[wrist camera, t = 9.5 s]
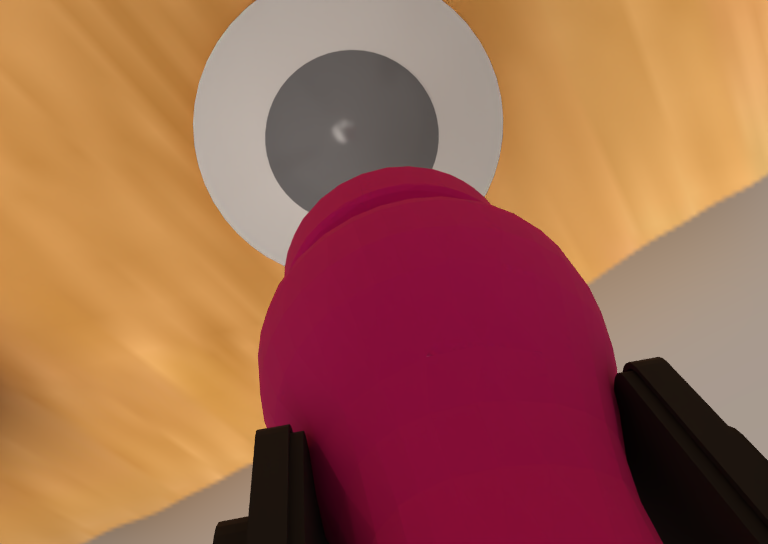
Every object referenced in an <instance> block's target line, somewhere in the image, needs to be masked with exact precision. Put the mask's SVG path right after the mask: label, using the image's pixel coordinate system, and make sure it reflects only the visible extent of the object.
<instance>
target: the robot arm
mask: <svg viewBox="0 0 768 544" xmlns="http://www.w3.org/2000/svg"><path fill="white" fill-rule="evenodd" d="M614 392H615V396H616V400H617V404H618V408H619V412H620V420H621V426H622V432H623V439H624V445H625V451H626V458H627V462H628V465H629V468H630V471H631V474H632V477H633V480H634V483H635V486H636V489H637V492H638V495H639V498H640V500H641V503H642V505H643V507H644V509H645V511H646V512H647V514H648V516H649V518H650V520H651V522H652V524H653V525H654V527H655V529H656V531H657V533H658V535H659V537H660V538H661V540H662V542H663V544H768V460H767V459H766V458H765V457H764V456H763V455H762V454H761V453H760V452H759V451H758V450H757V449H756V448H755V447H754V446H753V445H752V444H751V443H750V442H749V441H748V440H747V439H746V438H745V437H744V435H742V434H741V433H740V432H739V431H738V430H736V429H735V428H733V427H730V426H728V425H727V424H726V423H725V422H724V421H723V420H722V419H721V418H720V417H719V416H718V415H717V414H716V413H715V412H714V411H713V409H712V408H711V407H710V406H709V405H708V404H707V403H706V402H705V401H704V400H703V399H702V398H701V397H700V396H699V395H698V394H697V393H696V392H695V391H694V390H693V388H691V386H690V385H689V384H688V383H687V382H686V381H685V380H684V379H683V378H682V377H681V376H680V375H679V374H678V373H677V372H676V371H675V370H674V369H673V368H672V366H670V364H669V363H668V362H667V361H665V360H664V359H663V358H660V357H656V358H651V359H645V360H639V361H634V362H628V363H626V364H625V366H624V368H623V372H621V373H617V374H616V376H615V380H614ZM213 544H329V543H328V541H327V539H326V537H325V533H324V529H323V524H322V520H321V515H320V511H319V506H318V502H317V497H316V492H315V485H314V479H313V472H312V466H311V460H310V454H309V448H308V443H307V439H306V435H305V432H304V431H299V432H293V430H292V427H291V425H290V424H287V425H282V426H276V427H271V428H265V429H260V430H257V431H256V435H255V445H254V457H253V469H252V481H251V493H250V505H249V516H248V517H243V518H238V519H232V520H227V521H222V522H219V523H218V525H217V526H216V529H215V534H214V540H213Z"/></svg>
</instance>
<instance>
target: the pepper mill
mask: <svg viewBox="0 0 768 544" xmlns="http://www.w3.org/2000/svg"><path fill="white" fill-rule="evenodd" d="M258 364H259V380H260V395H261V402H262V408H263V415H264V421H265V424H266V427H267V428H271V427H276V426H282V425H287V424H290V425H291V427H292V430H293V432H299V431H304V432H305V435H306V439H307V443H308V448H309V454H310V460H311V466H312V472H313V479H314V485H315V492H316V497H317V502H318V506H319V511H320V515H321V520H322V524H323V529H324V533H325V537H326V539H327V541H328V543H329V544H663V542H662V540H661V538H660V537H659V535H658V533H657V531H656V529H655V527H654V525H653V524H652V522H651V520H650V518H649V516H648V514H647V512H646V511H645V509H644V507H643V505H642V503H641V500H640V498H639V495H638V492H637V489H636V486H635V483H634V480H633V477H632V474H631V471H630V468H629V465H628V462H627V458H626V451H625V445H624V439H623V432H622V426H621V420H620V412H619V408H618V404H617V400H616V396H615V392H614V380H615V376H616V374H617V367H616V361H615V357H614V352H613V347H612V344H611V341H610V338H609V335H608V332H607V329H606V325H605V323H604V319H603V316H602V314H601V311H600V309H599V307H598V305H597V303H596V301H595V299H594V297H593V295H592V292H591V291H590V288H589V287H588V285H587V284H586V283H585V281H584V280H583V278H582V277H581V276H580V274H579V273H578V272H577V270H576V269H575V268H574V266H573V265H572V264H571V262H570V261H569V260H568V258H567V257H566V256H565V254H564V253H563V252H562V251H561V249H560V248H559V247H558V245H556V244H555V243H554V242H553V241H552V240H551V239H550V238H549V237H548V236H546V235H545V234H544V233H543V232H542V231H541V230H539V229H538V228H536V227H535V226H533V225H531V224H530V223H528V222H527V221H525V220H523V219H522V218H520V217H519V216H517V215H515V214H514V213H511V212H508V211H506V210H503V209H500V208H498V207H495V206H492V205H491V204H490V203H489V202H488V201H487V200H486V199H485V197H484V196H483V195H481V194H480V193H479V192H478V191H477V190H476V189H475V188H473V187H472V186H470V185H469V184H467V183H466V182H464V181H462V180H460V179H458V178H456V177H454V176H452V175H450V174H447V173H444V172H441V171H438V170H435V169H428V168H420V167H411V166H404V167H386V168H383V169H379V170H375V171H371V172H367V173H364V174H360V175H358V176H356V177H354V178H352V179H350V180H348V181H346V182H344V183H342V184H340V185H338V186H337V187H336V188H334V189H333V190H332V191H330V192H329V193H328V194H326V195H325V196H324V197H322V198H321V199H320V200H319V201H318V202H317V204H316V205H315V206H314V207H313V208H312V209H311V210H310V211H309V213H308V214H307V215H306V216H305V217H304V218H303V220H302V221H301V223H300V225H299V227H298V229H297V230H296V232H295V234H294V236H293V239H292V242H291V244H290V247H289V250H288V252H287V258H286V263H285V277H284V278H283V280H282V281H281V282H280V284H279V285H278V288H277V290H276V292H275V294H274V297H273V299H272V301H271V304H270V306H269V308H268V311H267V314H266V317H265V320H264V324H263V327H262V330H261V335H260V344H259V352H258Z"/></svg>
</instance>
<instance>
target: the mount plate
mask: <svg viewBox="0 0 768 544" xmlns="http://www.w3.org/2000/svg"><path fill="white" fill-rule="evenodd" d="M193 130H194V145H195V150H196V156H197V161H198V165H199V168H200V171H201V174H202V177H203V180H204V183H205V186H206V188H207V190H208V192H209V194H210V196H211V198H212V200H213V202H214V203H215V205H216V206H217V208H218V210H219V211H220V213H221V214H222V216H223V217H224V219H225V220H226V221H227V222H228V223H229V224H230V225H231V227H232V228H233V229H234V230H235V231H236V232H237V234H239V235H240V236H241V237H242V238H243V239H244V240H245V241H246V242H248V243H249V244H250V245H251V246H252V247H254V248H255V249H256V250H258V251H259V252H261V253H262V254H264V255H265V256H266V257H268V258H270V259H272V260H274V261H276V262H278V263H280V264H281V265H283V266H285V263H286V258H287V252H288V250H289V247H290V244H291V242H292V239H293V236H294V234H295V232H296V230H297V229H298V227H299V225H300V223H301V221H302V220H303V218H304V217H305V216H306V215H307V214H308V213H309V211H310V210H311V209H312V208H313V207H314V206H315V205H316V204H317V202H318V201H319V200H320V199H321V198H322V197H324V196H325V195H326V194H328V193H329V192H330V191H332V190H333V189H334V188H336V187H337V186H338V185H340V184H342V183H344V182H346V181H348V180H350V179H352V178H354V177H356V176H358V175H360V174H364V173H367V172H371V171H375V170H379V169H383V168H386V167H404V166H411V167H420V168H428V169H435V170H438V171H441V172H444V173H447V174H450V175H452V176H454V177H456V178H458V179H460V180H462V181H464V182H466V183H467V184H469V185H470V186H472V187H473V188H475V189H476V190H477V191H478V192H479V193H480V194H481V195H483V196H484V197H485V195H486V193H487V191H488V189H489V186H490V184H491V182H492V179H493V177H494V175H495V171H496V168H497V164H498V161H499V157H500V151H501V145H502V138H503V111H502V101H501V95H500V91H499V86H498V82H497V78H496V75H495V73H494V70H493V67H492V65H491V62H490V59H489V57H488V56H487V54H486V52H485V50H484V48H483V46H482V44H481V43H480V41H479V39H478V38H477V37H476V35H475V34H474V33H473V31H472V30H471V28H470V27H469V26H468V24H467V23H466V22H465V21H464V20H463V19H462V18H461V17H460V16H459V15H458V14H457V13H456V12H455V11H454V10H453V9H452V8H451V7H450V6H448V5H447V4H446V3H445V2H443V1H442V0H256V1H255V2H254V3H252V4H251V5H250V6H248V7H247V8H246V9H245V10H244V11H243V12H242V13H241V14H240V15H239V16H238V17H237V18H236V19H235V20H234V21H233V22H232V23H231V24H230V25H229V27H228V28H227V30H226V31H225V32H224V34H223V35H222V36H221V38H220V39H219V40H218V42H217V44H216V45H215V47H214V49H213V51H212V53H211V55H210V57H209V58H208V60H207V62H206V65H205V68H204V71H203V73H202V76H201V79H200V81H199V86H198V90H197V95H196V100H195V107H194V120H193Z"/></svg>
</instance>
